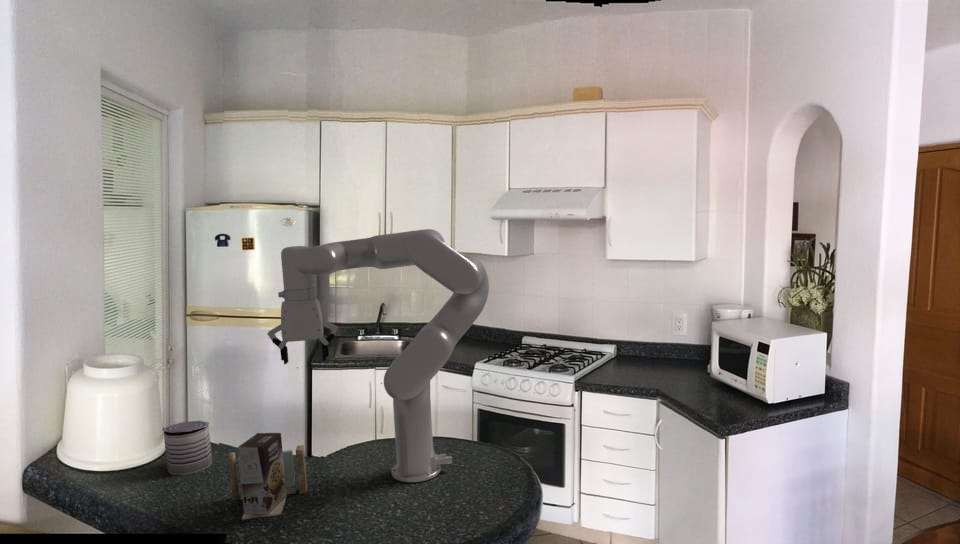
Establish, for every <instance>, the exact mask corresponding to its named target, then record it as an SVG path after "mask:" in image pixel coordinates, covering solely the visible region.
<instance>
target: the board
mask: <svg viewBox="0 0 960 544" xmlns="http://www.w3.org/2000/svg"><path fill="white" fill-rule="evenodd" d="M287 497H288V494H286V498H285V499H284V500H283V501H282V502H280V503H279V504H278V505H277V506H276V507H275V508H274V509H273V510H272V511H271V512H270V513H269V514H268V515H265V514H247V513H244V512H243V515H242V517H241V519H242V521H243V520H250V519H258V518H266V517H275V516H281V515H282V512H283V509H284V507H283V506H285V503H286V499H287Z"/></svg>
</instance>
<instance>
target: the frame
mask: <svg viewBox="0 0 960 544" xmlns="http://www.w3.org/2000/svg"><path fill="white" fill-rule="evenodd" d="M305 453H306V452H305V445H303V444H302V445H297V446H296V448H295V459H296V460H295V461H296V467H297V468H296V469H297V482H298V489H297V487H294V488H286V494H287V495H292V494H294V495H295V494H296V493H297V490H298V492H299V495H301V494H306V493H307V491H308V480H307V479H308V478H307V468H306V457H305V456H306V455H305ZM227 458H228V459H227V460H228V467H229V478H230V488H231V498H232V501H237V500H242V501H243V495H242V494H241V496H240V491H239V489H240V488H239V481H238V480H239V479H238V470H237V462H236V453H235V452H234V451H232V452H229V453H227Z"/></svg>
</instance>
